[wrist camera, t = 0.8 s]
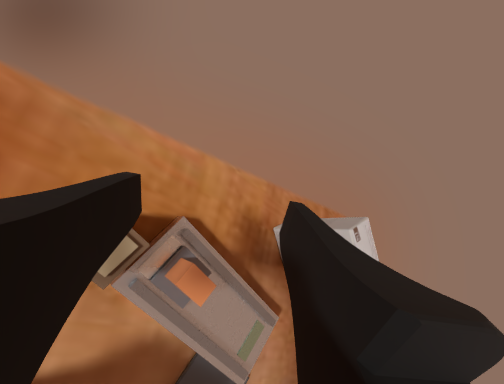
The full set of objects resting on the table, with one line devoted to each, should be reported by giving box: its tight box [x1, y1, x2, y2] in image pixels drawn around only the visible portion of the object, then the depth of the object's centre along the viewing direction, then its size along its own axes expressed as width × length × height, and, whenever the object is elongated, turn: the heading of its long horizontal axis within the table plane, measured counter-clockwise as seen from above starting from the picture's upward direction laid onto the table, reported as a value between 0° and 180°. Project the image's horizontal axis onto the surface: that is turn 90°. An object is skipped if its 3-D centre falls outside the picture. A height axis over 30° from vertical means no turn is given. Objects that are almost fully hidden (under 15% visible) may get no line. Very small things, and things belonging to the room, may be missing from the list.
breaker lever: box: [150, 245, 216, 309], centre depth 19 cm, size 4×4×4 cm
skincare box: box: [274, 217, 379, 262], centre depth 27 cm, size 6×4×12 cm
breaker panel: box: [111, 216, 279, 384], centre depth 22 cm, size 8×18×3 cm, turn 46°
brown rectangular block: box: [92, 229, 150, 290], centre depth 16 cm, size 4×4×7 cm
